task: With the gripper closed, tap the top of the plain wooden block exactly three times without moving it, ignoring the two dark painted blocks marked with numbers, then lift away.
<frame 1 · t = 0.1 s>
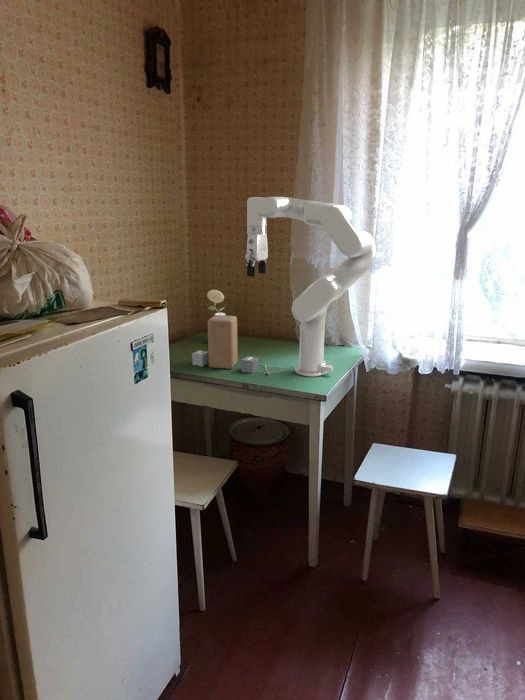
hand: (256, 274, 207), 37 cm above the table, tool pointing down, fingers open, 9 cm apart
wooden block: (223, 365, 214), on the table
charcoal block marked 1: (250, 370, 208), on the table
slate block marked 7: (201, 364, 216), on the table
flower in vase: (219, 342, 248), on the table
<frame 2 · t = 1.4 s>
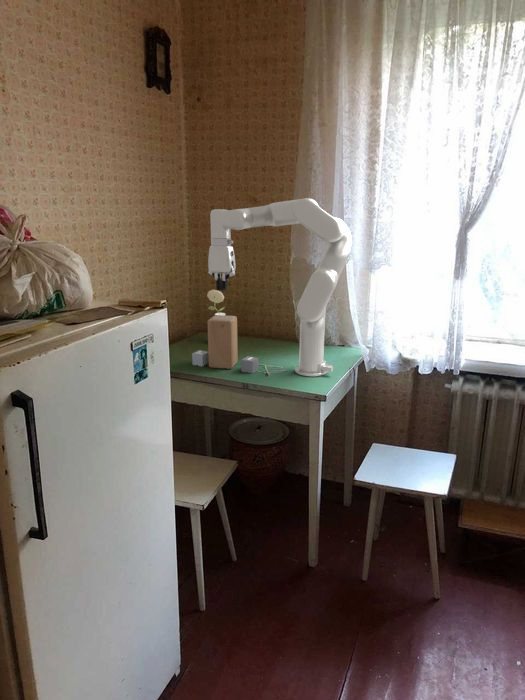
hand: (221, 289, 205), 31 cm above the table, tool pointing down, fingers closed
nothing on the table moved.
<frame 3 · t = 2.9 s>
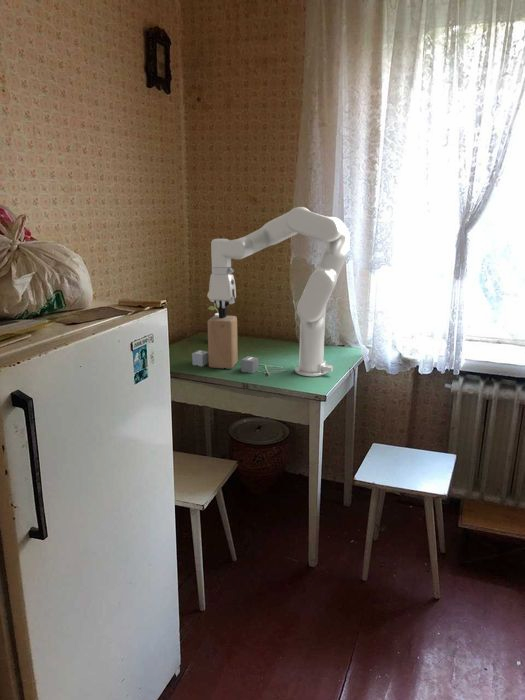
hand: (222, 317, 209), 20 cm above the table, tool pointing down, fingers closed
nothing on the table moved.
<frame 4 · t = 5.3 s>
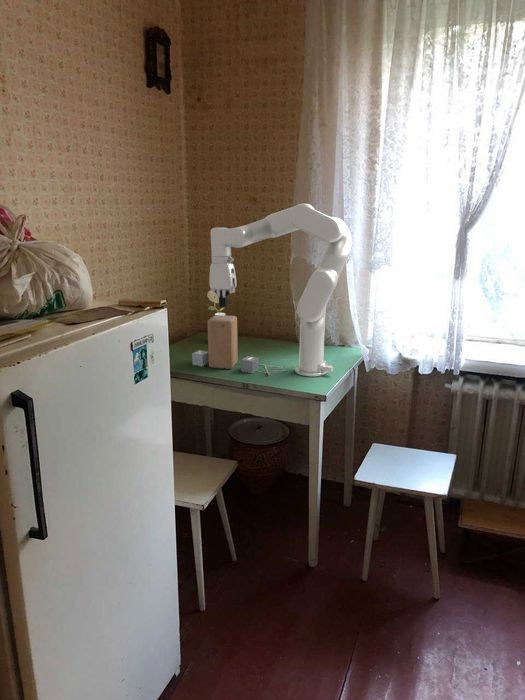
hand: (223, 306, 207), 24 cm above the table, tool pointing down, fingers closed
nothing on the table moved.
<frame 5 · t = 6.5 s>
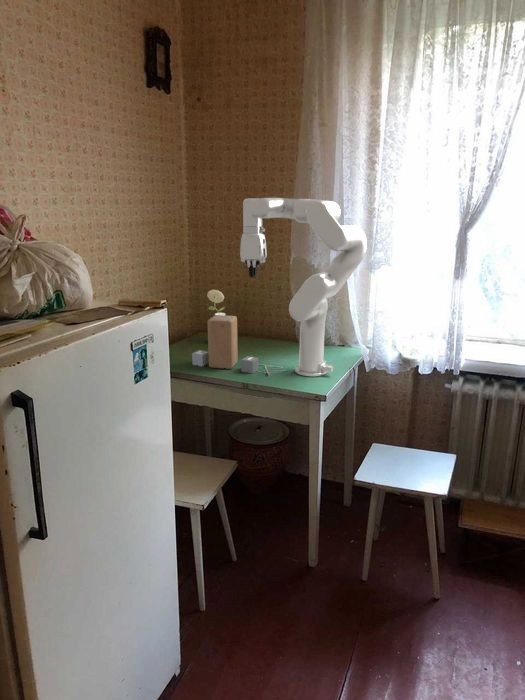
hand: (253, 276, 212), 35 cm above the table, tool pointing down, fingers closed
nothing on the table moved.
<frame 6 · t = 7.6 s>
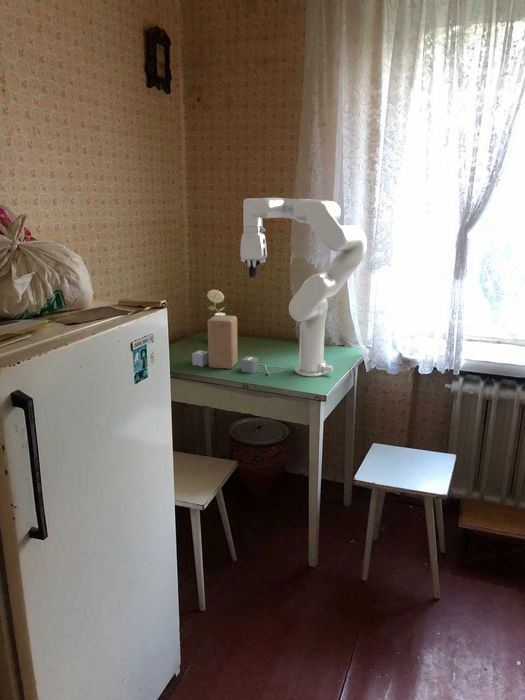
hand: (253, 276, 212), 35 cm above the table, tool pointing down, fingers closed
nothing on the table moved.
at the end: wooden block moved 0.2 cm from its start; wooden block tilted 0°; charcoal block marked 1 moved 0.1 cm from its start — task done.
